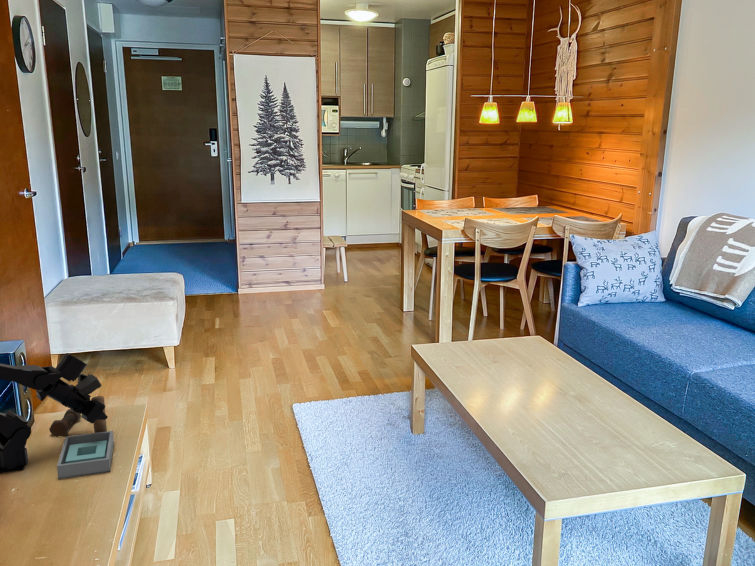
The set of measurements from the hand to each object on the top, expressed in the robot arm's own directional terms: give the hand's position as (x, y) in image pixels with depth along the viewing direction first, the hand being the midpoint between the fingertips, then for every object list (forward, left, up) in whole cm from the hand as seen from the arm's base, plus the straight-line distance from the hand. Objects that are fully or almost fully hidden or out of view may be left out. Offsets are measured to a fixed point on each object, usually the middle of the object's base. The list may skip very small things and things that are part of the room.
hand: (103, 416), depth 192 cm
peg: (-1, -1, -7) cm, 7 cm away
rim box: (-4, -15, -7) cm, 17 cm away
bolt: (-12, +11, -7) cm, 17 cm away
